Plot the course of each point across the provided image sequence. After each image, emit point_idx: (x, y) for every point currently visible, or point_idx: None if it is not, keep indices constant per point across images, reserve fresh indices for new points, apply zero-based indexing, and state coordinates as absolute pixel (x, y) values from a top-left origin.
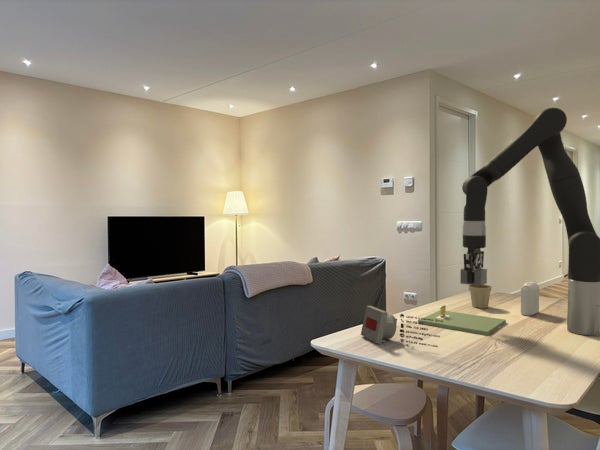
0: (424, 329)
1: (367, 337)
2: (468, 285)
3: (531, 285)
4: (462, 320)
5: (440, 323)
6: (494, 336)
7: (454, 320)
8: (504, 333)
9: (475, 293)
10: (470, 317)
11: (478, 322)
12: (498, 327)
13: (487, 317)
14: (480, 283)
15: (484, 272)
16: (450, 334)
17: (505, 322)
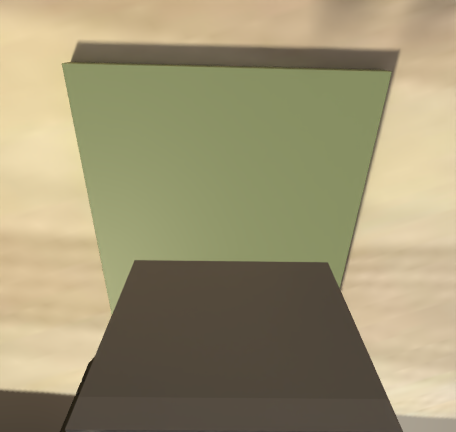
0: None
1: None
2: None
3: None
4: (235, 230)
5: (339, 276)
6: (386, 33)
7: (256, 253)
8: (298, 3)
9: None
10: (156, 221)
11: (226, 164)
12: (204, 65)
13: (93, 160)
14: (331, 282)
15: (208, 382)
16: (432, 206)
17: (75, 62)
